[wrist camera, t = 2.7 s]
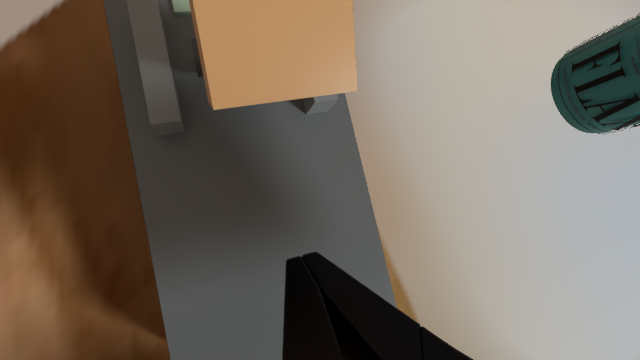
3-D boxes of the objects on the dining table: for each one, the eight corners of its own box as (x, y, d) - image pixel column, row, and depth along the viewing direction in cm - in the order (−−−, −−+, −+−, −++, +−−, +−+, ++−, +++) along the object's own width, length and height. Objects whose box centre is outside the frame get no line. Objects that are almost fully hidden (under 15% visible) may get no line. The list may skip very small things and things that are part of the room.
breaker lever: (276, 80, 15) (357, 91, 8) (200, 89, 14) (213, 109, 7) (269, 20, 15) (350, -29, 7) (188, 25, 14) (188, -25, 6)
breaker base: (356, 299, 20) (418, 329, 14) (190, 352, 17) (172, 419, 11) (296, 40, 21) (327, -39, 15) (132, 54, 19) (87, -36, 12)
